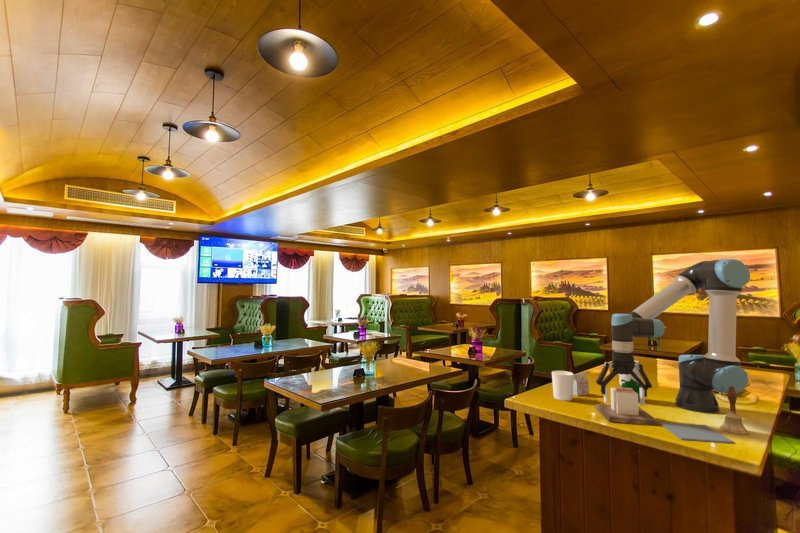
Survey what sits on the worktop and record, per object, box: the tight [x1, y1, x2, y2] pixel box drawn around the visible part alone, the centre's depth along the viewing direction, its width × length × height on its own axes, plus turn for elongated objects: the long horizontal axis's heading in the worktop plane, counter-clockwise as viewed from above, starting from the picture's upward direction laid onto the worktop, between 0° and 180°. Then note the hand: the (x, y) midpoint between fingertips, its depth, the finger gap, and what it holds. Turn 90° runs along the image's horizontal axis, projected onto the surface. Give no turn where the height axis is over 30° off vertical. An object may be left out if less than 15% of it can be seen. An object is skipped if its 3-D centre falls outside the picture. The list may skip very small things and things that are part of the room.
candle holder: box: [551, 370, 574, 402], centre depth 179 cm, size 10×10×12 cm
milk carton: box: [618, 360, 642, 403], centre depth 178 cm, size 9×9×20 cm
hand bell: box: [719, 386, 750, 436], centre depth 139 cm, size 8×8×16 cm
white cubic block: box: [610, 387, 639, 415], centre depth 153 cm, size 8×8×9 cm
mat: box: [658, 421, 735, 445], centre depth 136 cm, size 16×16×1 cm
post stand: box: [595, 403, 659, 426], centre depth 153 cm, size 17×17×8 cm
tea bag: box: [573, 373, 590, 397], centre depth 185 cm, size 4×7×10 cm, turn 105°
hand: (623, 403), depth 153 cm, fingers open, 13 cm apart
